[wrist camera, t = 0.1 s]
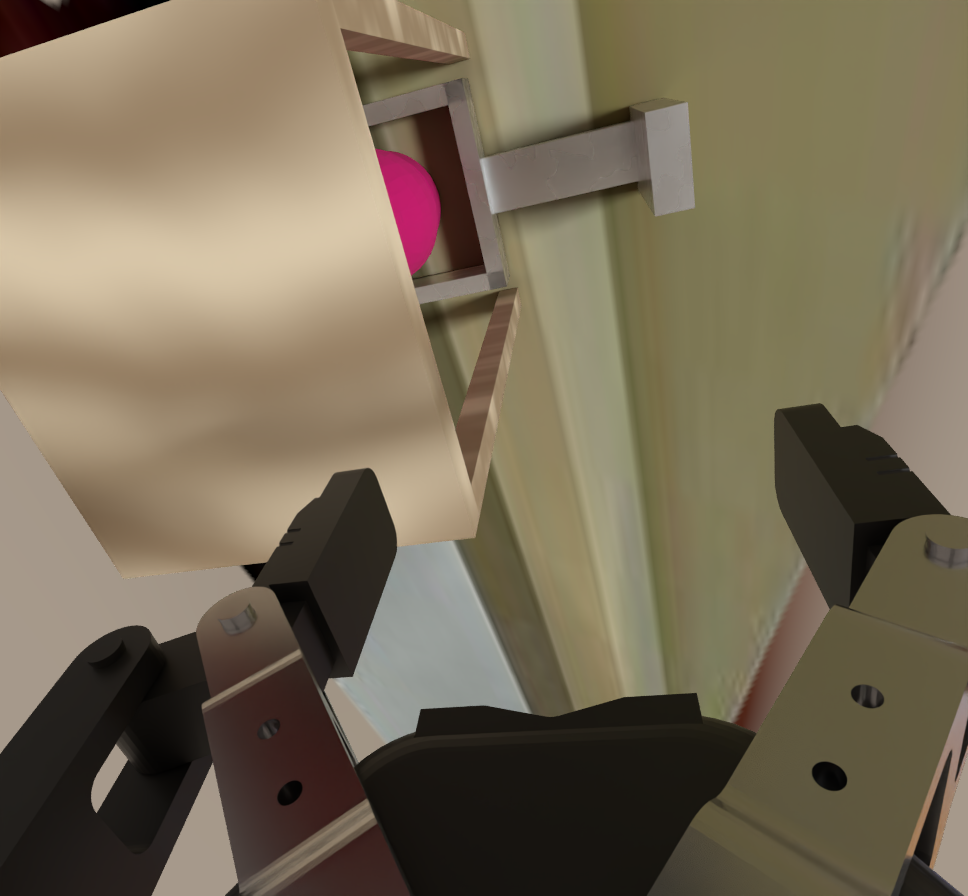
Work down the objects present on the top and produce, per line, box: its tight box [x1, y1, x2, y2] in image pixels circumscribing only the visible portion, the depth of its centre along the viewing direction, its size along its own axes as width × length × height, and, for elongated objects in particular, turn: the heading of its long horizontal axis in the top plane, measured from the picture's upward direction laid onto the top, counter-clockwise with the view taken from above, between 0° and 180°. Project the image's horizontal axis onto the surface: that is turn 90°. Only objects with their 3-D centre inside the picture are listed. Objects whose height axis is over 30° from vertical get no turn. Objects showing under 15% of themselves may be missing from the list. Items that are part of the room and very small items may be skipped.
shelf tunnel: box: [0, 0, 521, 579], centre depth 28 cm, size 15×13×24 cm
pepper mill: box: [375, 149, 441, 275], centre depth 30 cm, size 7×7×20 cm
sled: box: [363, 78, 695, 304], centre depth 34 cm, size 11×22×8 cm, turn 103°
